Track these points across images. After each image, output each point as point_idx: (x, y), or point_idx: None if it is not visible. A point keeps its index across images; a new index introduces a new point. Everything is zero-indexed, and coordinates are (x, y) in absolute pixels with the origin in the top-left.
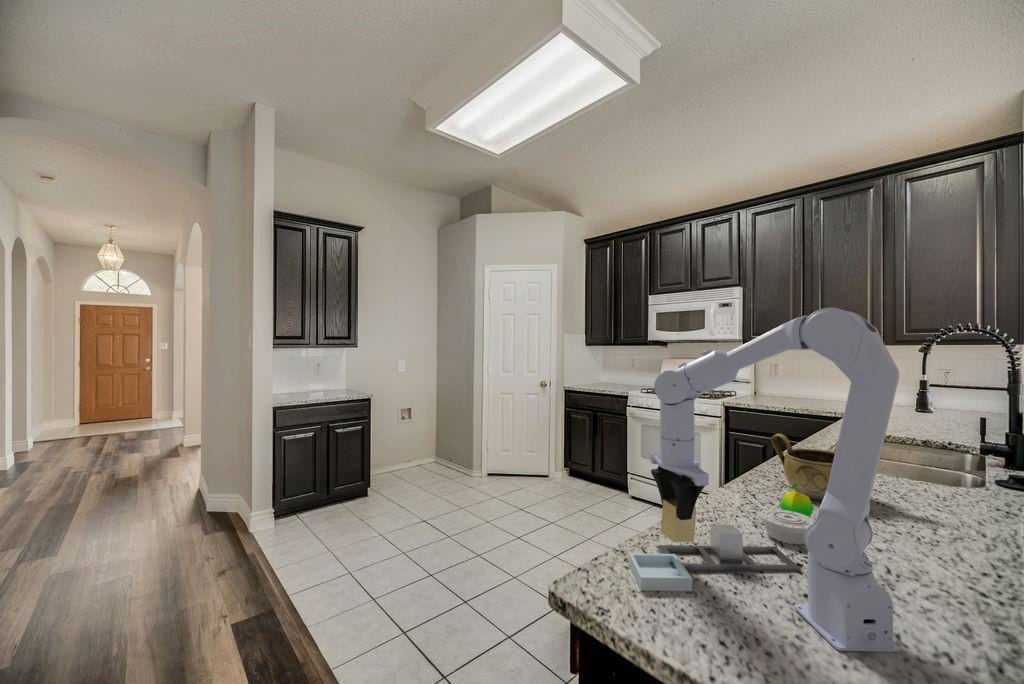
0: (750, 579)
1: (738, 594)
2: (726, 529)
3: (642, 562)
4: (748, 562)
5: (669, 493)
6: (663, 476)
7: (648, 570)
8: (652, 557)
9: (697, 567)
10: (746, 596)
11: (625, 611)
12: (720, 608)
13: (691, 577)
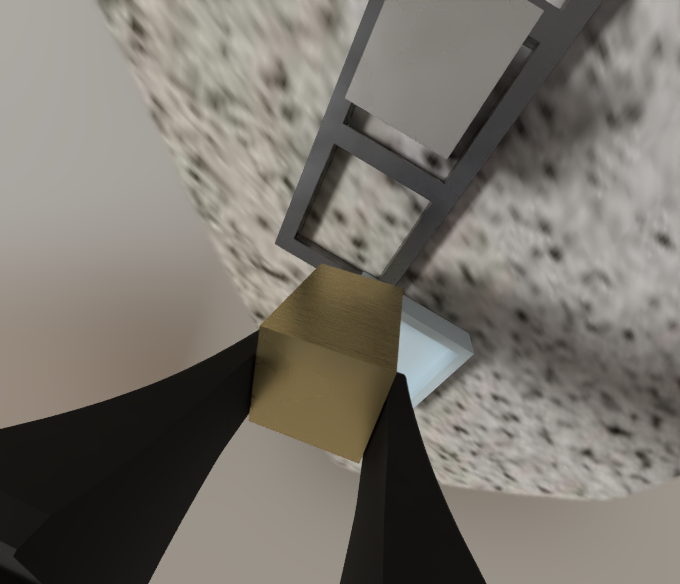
0: (560, 127)
1: (567, 252)
2: (437, 63)
3: None
4: None
5: (228, 414)
6: (139, 566)
7: None
8: None
9: (418, 251)
10: (592, 242)
11: (432, 453)
12: (557, 342)
13: (470, 352)
